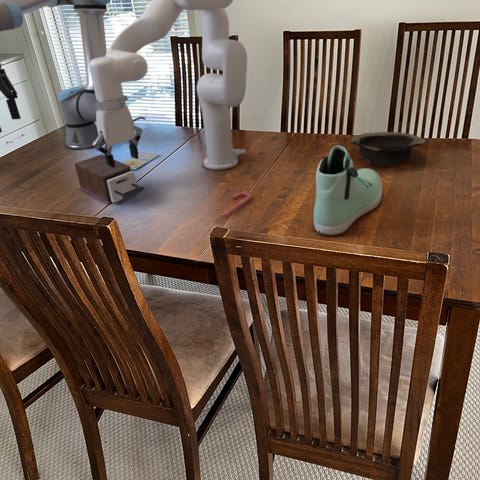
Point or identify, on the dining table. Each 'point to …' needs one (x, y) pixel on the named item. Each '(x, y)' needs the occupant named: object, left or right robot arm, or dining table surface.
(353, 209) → the sneaker
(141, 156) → the baking ingredient package
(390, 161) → the stone bowl
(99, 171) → the taupe rectangular box
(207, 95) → the right robot arm
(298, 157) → the dining table surface
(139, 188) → the drawer
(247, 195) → the candy cane
